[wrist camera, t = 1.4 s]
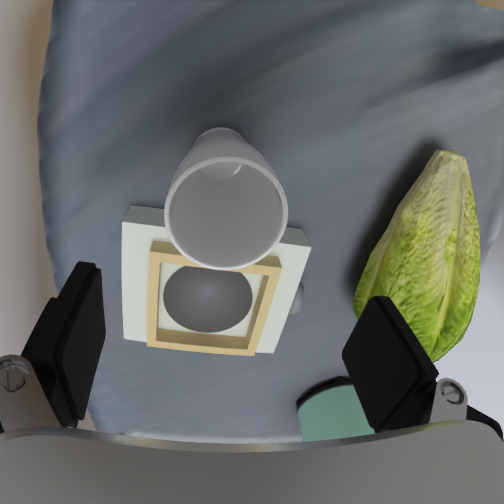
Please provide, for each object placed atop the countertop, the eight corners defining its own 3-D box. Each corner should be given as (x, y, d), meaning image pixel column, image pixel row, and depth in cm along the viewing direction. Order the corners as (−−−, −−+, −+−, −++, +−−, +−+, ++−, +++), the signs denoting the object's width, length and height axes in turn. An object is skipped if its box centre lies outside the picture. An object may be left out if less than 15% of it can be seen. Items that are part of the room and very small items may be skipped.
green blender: (379, 392, 55) (441, 548, 25) (323, 425, 58) (366, 576, 28) (331, 354, 46) (406, 574, 16) (263, 396, 50) (301, 598, 20)
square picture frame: (131, 205, 31) (117, 231, 26) (311, 230, 35) (328, 259, 30) (129, 316, 38) (121, 351, 33) (277, 331, 42) (285, 365, 37)
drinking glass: (186, 188, 31) (169, 275, 18) (182, 120, 28) (155, 159, 15) (255, 185, 32) (286, 269, 19) (255, 117, 28) (293, 153, 16)
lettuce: (473, 161, 34) (540, 180, 21) (425, 323, 43) (461, 383, 30) (374, 131, 34) (423, 133, 21) (333, 314, 43) (350, 383, 30)
